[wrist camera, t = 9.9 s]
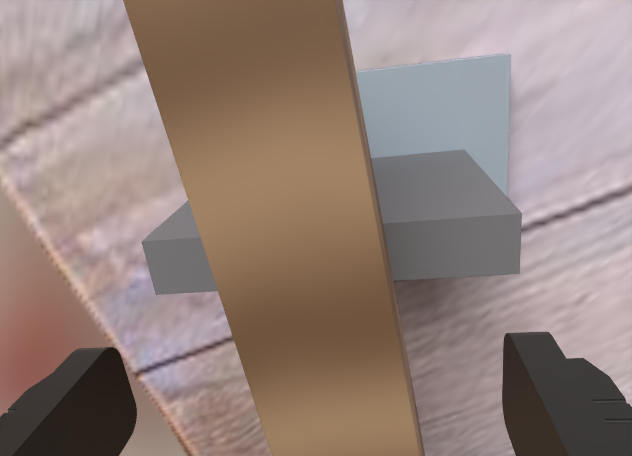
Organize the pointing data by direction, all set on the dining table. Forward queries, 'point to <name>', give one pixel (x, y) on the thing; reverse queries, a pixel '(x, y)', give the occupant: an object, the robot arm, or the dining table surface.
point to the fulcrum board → (441, 109)
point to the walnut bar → (287, 214)
